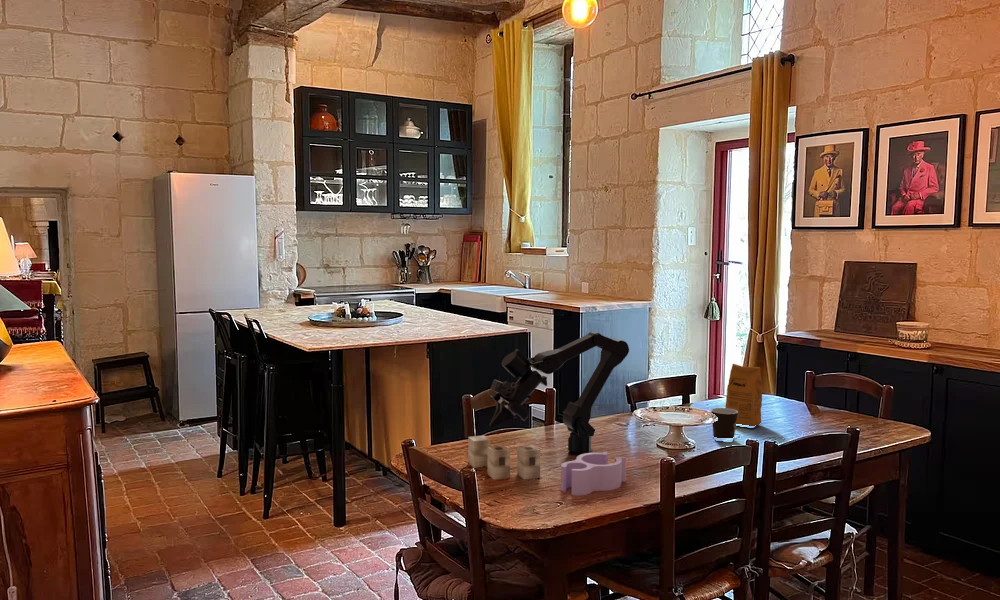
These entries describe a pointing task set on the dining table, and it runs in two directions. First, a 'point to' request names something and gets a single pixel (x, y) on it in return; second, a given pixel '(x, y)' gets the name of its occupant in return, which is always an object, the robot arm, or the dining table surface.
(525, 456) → the marked block 2
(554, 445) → the dining table surface
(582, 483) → the clip
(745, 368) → the coffee package
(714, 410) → the coffee mug
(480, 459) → the plain block
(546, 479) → the dining table surface
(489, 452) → the marked block 1
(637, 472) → the dining table surface
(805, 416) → the dining table surface
